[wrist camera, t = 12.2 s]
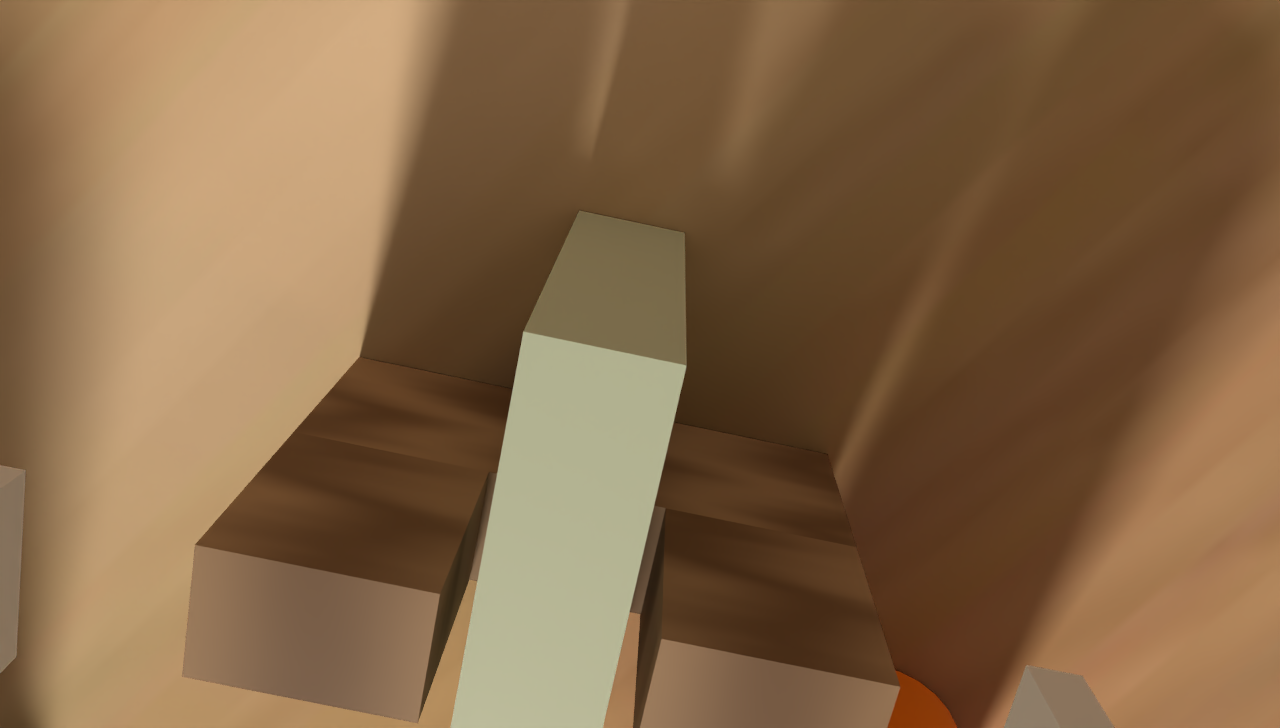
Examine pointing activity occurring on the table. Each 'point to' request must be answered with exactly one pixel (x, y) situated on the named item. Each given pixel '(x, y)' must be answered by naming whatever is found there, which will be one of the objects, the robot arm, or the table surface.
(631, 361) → the slot plate
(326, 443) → the brown wooden slotted board
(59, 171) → the table surface
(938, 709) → the shaker bottle
